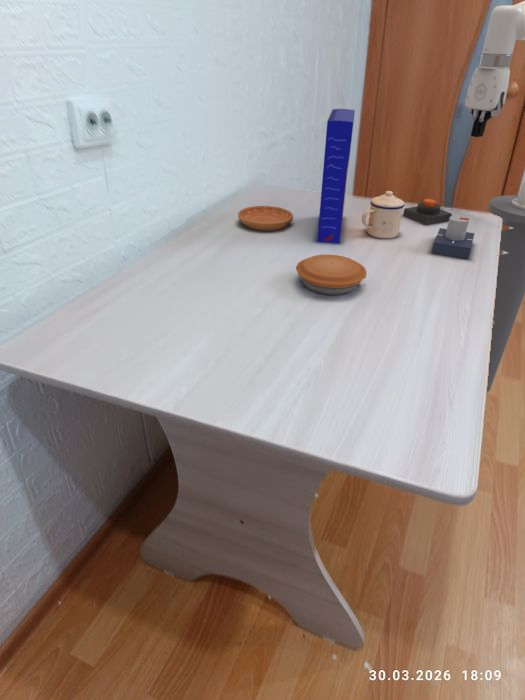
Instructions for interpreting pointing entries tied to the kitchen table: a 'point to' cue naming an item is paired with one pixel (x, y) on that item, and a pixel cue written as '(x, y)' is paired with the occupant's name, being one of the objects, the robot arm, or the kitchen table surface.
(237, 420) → the kitchen table surface
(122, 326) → the kitchen table surface
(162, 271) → the kitchen table surface
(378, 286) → the kitchen table surface
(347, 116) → the cereal box
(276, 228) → the saucer
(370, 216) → the teacup with lid
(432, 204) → the button
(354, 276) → the pie
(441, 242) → the dial panel
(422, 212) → the switch block
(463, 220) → the dial
